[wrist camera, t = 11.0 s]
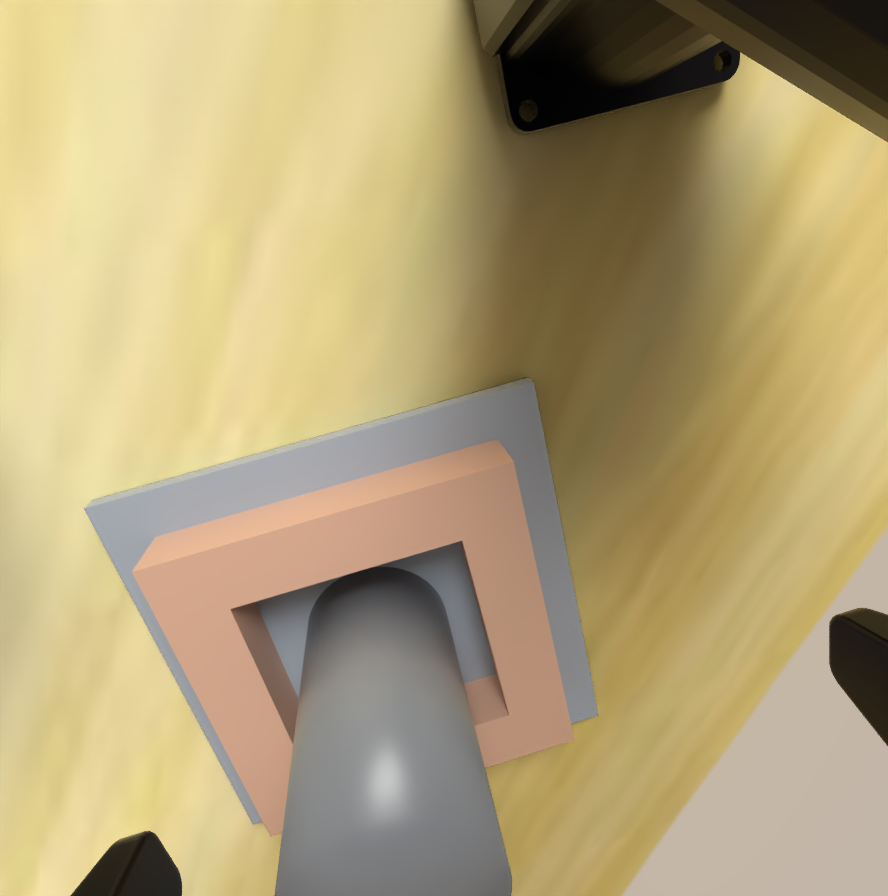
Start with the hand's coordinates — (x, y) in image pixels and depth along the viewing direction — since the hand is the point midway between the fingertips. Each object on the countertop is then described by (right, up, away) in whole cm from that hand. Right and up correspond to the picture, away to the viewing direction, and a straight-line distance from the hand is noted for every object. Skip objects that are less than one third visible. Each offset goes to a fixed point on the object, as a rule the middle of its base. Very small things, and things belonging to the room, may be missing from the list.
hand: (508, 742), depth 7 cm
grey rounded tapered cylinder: (-3, -2, +13) cm, 13 cm away
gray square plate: (-3, -2, +13) cm, 14 cm away
